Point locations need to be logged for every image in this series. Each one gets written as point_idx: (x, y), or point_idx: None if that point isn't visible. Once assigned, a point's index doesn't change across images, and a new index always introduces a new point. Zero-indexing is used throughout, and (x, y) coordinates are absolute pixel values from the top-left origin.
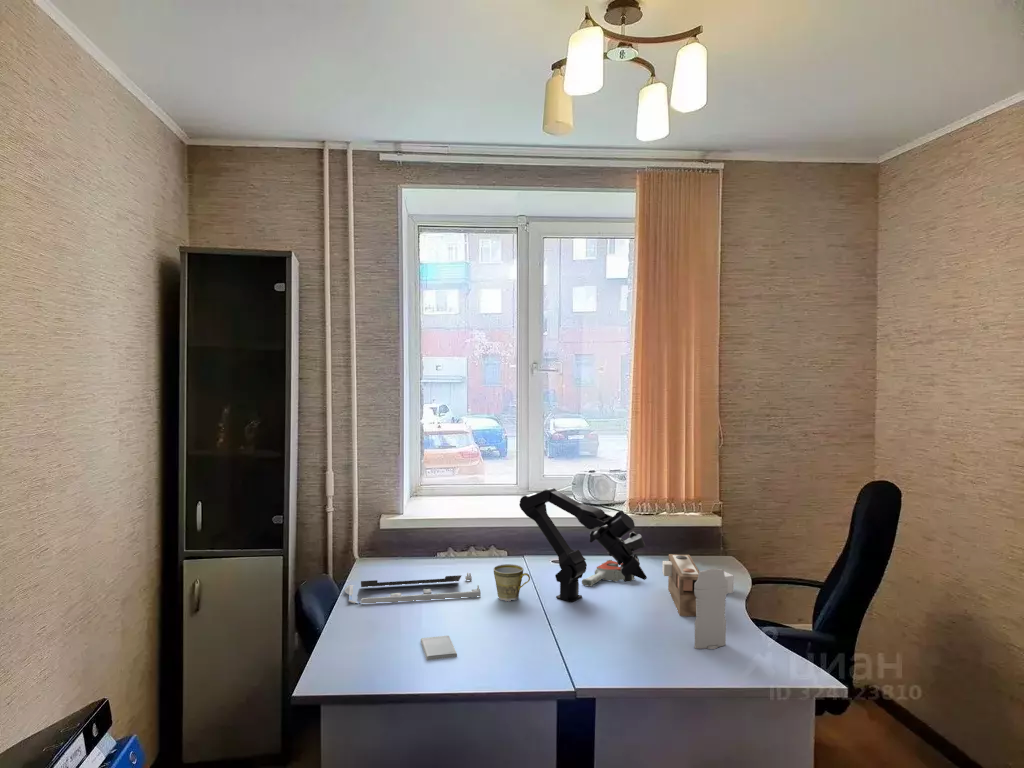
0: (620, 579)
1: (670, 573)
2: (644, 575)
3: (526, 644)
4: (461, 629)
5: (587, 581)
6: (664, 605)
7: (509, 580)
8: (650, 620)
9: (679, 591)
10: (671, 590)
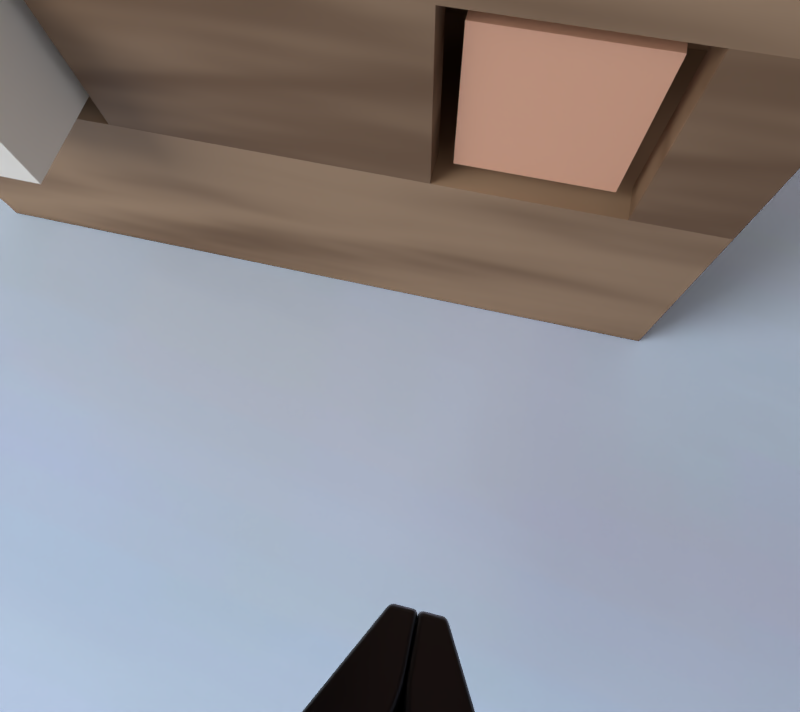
0: None
1: (55, 91)
2: (464, 703)
3: None
4: None
5: None
6: (369, 378)
7: None
8: (766, 680)
9: (700, 210)
10: (161, 213)
